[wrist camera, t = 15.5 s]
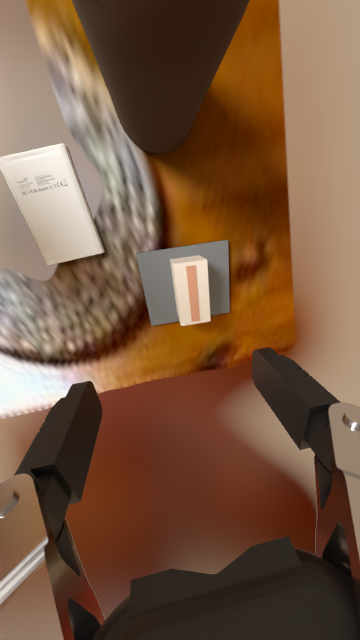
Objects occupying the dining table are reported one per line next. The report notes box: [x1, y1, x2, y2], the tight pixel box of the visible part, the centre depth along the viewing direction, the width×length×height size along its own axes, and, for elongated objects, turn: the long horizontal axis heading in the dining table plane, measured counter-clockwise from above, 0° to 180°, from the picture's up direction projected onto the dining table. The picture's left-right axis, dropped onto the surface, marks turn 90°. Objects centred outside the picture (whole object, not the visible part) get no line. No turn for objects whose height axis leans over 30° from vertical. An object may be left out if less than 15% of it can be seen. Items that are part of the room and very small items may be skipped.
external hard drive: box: [0, 144, 105, 266], centre depth 26 cm, size 2×8×12 cm
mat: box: [136, 240, 230, 326], centre depth 32 cm, size 14×12×1 cm
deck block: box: [170, 255, 211, 326], centre depth 29 cm, size 9×4×5 cm, turn 7°
